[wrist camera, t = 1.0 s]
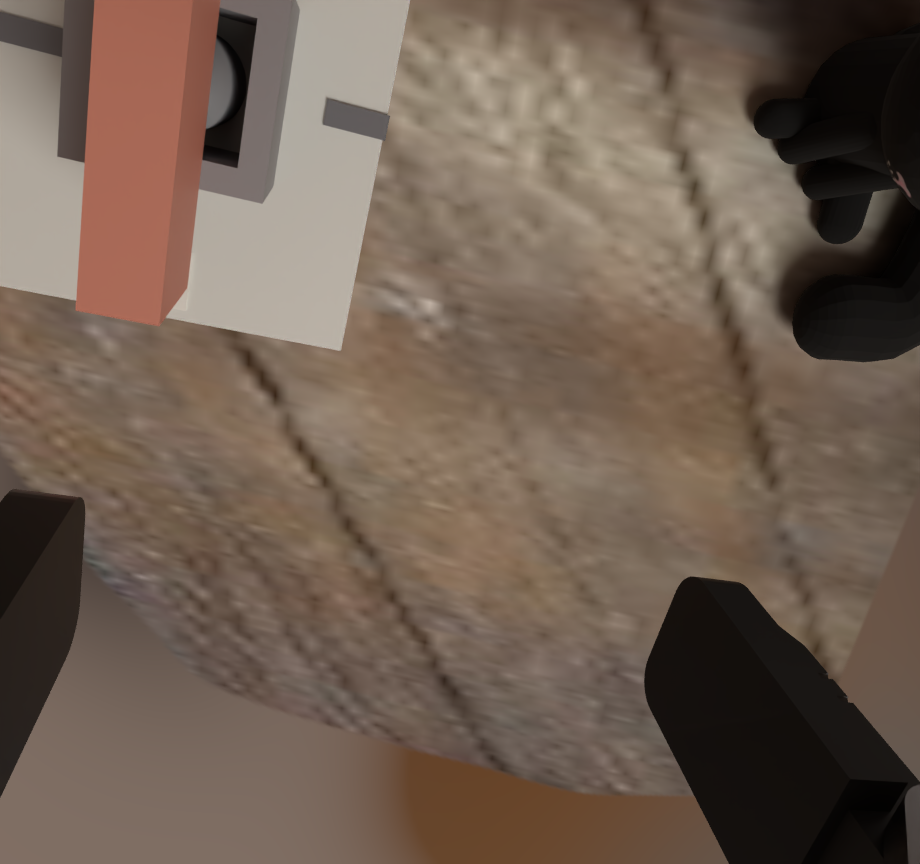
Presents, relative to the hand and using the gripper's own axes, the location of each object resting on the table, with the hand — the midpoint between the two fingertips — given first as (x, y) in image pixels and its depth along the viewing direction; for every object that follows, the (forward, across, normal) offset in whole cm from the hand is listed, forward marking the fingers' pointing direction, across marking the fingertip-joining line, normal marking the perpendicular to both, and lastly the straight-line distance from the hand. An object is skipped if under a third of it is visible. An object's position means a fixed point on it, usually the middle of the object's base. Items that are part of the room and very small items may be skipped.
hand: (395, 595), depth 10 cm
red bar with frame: (+26, +7, -5) cm, 27 cm away
